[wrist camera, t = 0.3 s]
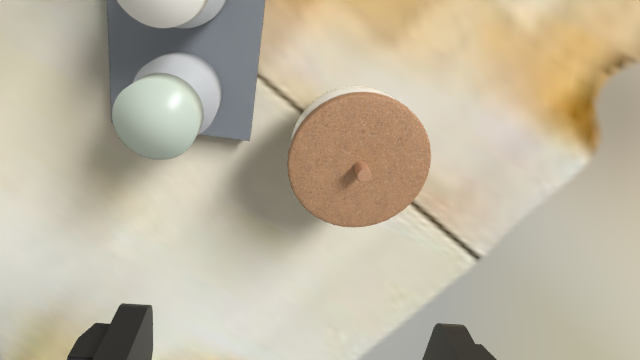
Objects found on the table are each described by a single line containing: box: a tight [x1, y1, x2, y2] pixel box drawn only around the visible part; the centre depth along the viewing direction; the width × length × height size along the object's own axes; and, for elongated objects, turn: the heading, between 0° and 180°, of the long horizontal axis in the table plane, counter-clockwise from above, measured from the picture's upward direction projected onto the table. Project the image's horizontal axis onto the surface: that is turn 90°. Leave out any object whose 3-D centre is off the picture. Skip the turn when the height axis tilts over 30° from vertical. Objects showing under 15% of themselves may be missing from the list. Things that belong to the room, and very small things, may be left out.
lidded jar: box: [287, 86, 431, 227], centre depth 33 cm, size 11×11×9 cm
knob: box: [112, 73, 204, 160], centre depth 26 cm, size 5×5×2 cm
